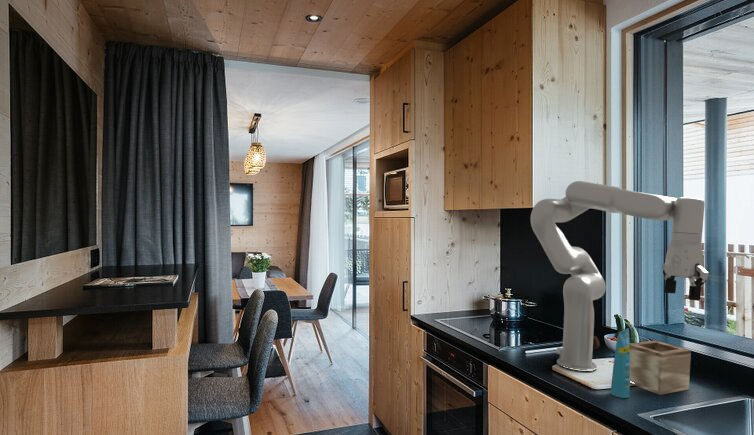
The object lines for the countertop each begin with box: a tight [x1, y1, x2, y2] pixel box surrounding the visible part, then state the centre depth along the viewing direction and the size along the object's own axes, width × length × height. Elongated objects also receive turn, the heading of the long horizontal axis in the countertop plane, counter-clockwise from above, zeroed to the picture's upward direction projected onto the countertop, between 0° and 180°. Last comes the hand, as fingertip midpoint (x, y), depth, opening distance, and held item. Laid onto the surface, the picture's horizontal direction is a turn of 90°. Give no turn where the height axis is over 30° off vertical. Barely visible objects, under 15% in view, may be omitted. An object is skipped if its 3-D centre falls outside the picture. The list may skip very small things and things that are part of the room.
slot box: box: [630, 340, 692, 396], centre depth 150 cm, size 12×14×12 cm
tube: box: [610, 327, 631, 399], centre depth 140 cm, size 7×5×19 cm, turn 140°
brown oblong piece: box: [593, 335, 600, 351], centre depth 186 cm, size 6×5×15 cm
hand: (681, 296), depth 143 cm, fingers open, 9 cm apart
